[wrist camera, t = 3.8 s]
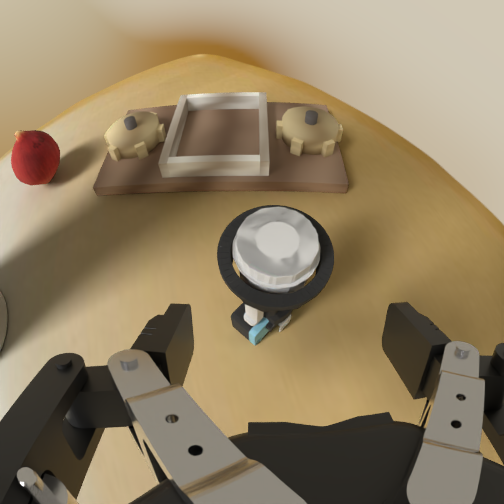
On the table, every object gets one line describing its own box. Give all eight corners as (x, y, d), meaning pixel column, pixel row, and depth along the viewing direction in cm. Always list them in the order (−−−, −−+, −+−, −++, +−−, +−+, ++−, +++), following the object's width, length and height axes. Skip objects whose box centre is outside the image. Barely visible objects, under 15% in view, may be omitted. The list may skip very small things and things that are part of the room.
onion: (60, 156, 31) (34, 106, 24) (77, 175, 29) (48, 120, 23) (24, 185, 29) (-6, 139, 22) (37, 208, 27) (1, 157, 20)
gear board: (94, 195, 28) (78, 166, 24) (128, 118, 34) (120, 91, 31) (348, 193, 28) (360, 160, 24) (327, 113, 34) (332, 84, 30)
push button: (275, 256, 24) (287, 162, 16) (330, 298, 22) (374, 219, 14) (215, 317, 22) (189, 243, 13) (271, 366, 20) (286, 325, 11)
